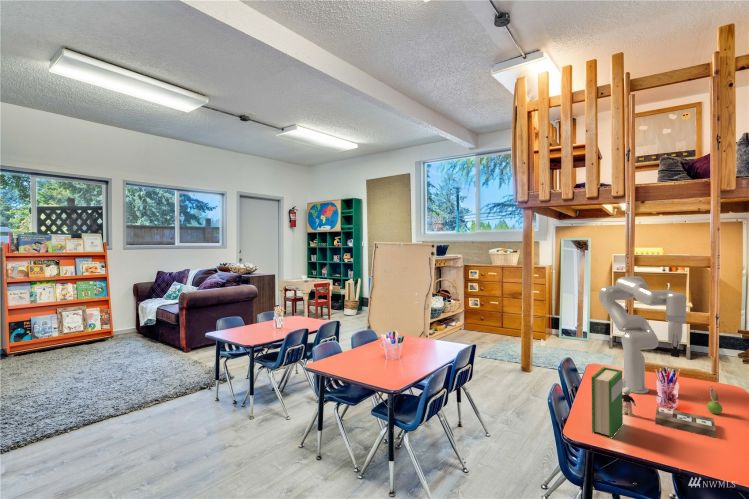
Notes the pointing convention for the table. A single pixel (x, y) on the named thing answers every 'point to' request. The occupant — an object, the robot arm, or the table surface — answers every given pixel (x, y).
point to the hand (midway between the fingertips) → (675, 356)
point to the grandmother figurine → (627, 402)
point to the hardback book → (607, 401)
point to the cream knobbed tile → (703, 422)
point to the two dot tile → (666, 412)
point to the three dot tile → (684, 418)
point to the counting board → (686, 423)
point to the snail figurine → (714, 403)
